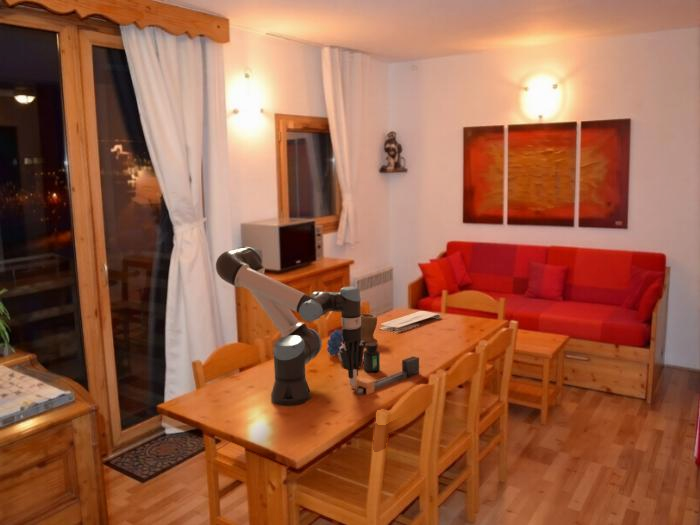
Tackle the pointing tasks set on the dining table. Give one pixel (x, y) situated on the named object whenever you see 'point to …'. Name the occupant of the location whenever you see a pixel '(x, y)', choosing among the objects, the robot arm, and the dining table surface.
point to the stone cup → (368, 327)
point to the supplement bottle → (371, 358)
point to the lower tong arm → (411, 370)
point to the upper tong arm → (361, 389)
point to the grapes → (334, 342)
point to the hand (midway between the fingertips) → (353, 385)
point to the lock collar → (365, 385)
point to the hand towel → (408, 321)
